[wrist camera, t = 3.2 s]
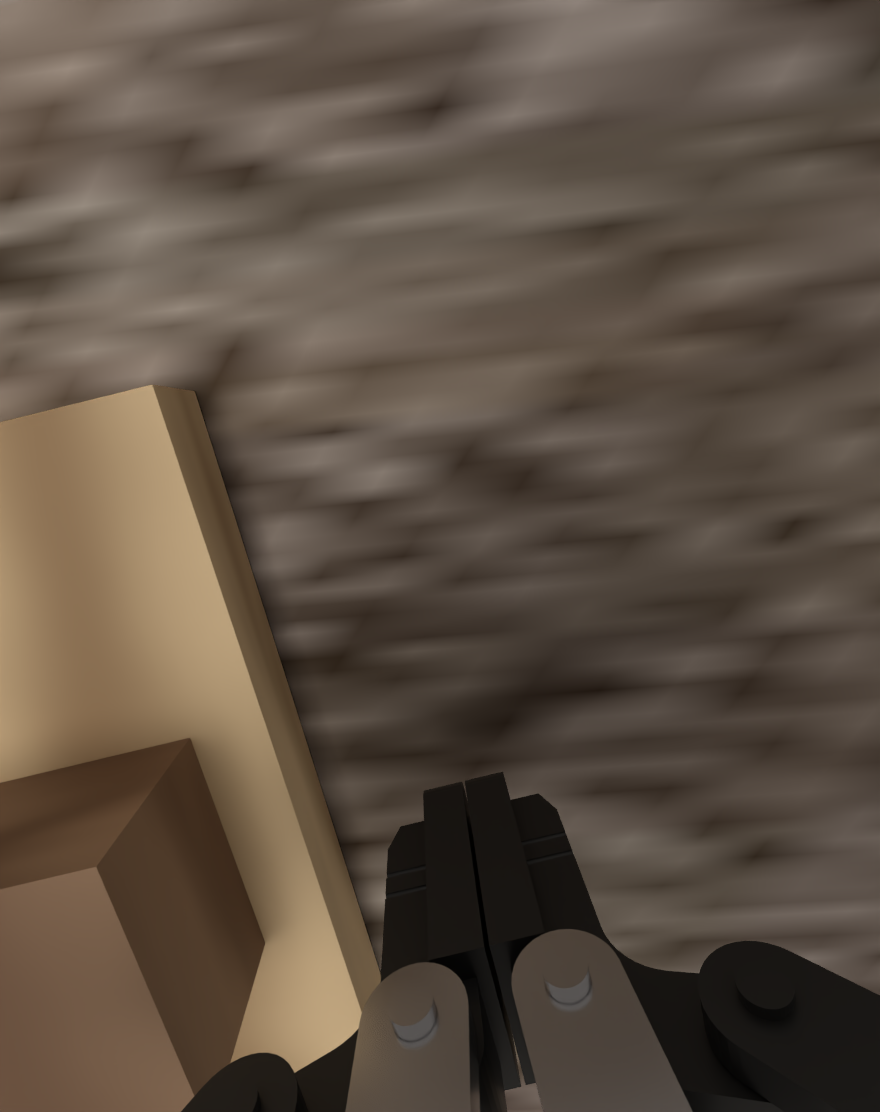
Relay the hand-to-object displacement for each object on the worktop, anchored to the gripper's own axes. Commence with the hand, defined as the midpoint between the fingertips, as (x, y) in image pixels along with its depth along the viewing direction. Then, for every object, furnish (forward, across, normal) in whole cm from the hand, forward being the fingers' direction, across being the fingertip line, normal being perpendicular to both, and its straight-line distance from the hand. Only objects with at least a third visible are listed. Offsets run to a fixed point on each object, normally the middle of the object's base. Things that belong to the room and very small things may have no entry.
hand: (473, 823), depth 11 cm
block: (+1, +8, 0) cm, 8 cm away
